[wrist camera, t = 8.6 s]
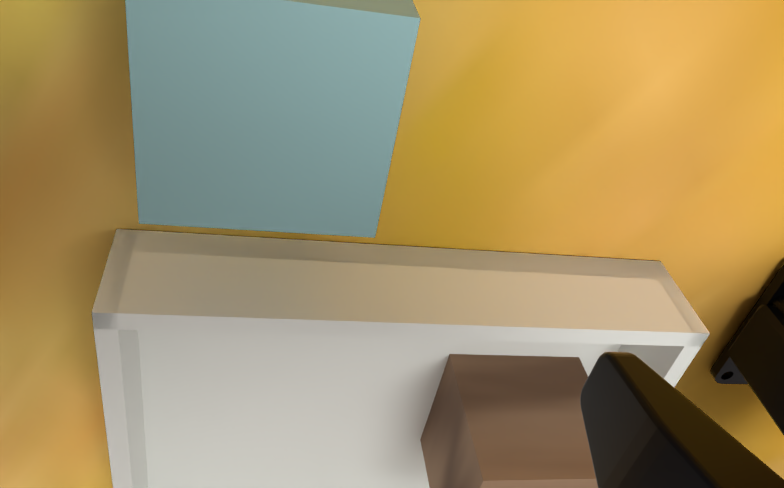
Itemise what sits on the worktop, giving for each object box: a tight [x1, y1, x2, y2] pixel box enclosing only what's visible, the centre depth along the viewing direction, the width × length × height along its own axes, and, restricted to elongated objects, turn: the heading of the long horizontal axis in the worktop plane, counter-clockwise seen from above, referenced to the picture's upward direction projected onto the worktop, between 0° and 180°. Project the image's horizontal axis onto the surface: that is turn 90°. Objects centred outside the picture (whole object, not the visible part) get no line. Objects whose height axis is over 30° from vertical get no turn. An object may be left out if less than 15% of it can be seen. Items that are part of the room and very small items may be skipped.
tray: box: [92, 229, 710, 488], centre depth 24 cm, size 18×13×4 cm
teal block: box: [125, 0, 420, 238], centre depth 15 cm, size 5×5×5 cm
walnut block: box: [420, 354, 598, 488], centre depth 24 cm, size 5×5×5 cm
